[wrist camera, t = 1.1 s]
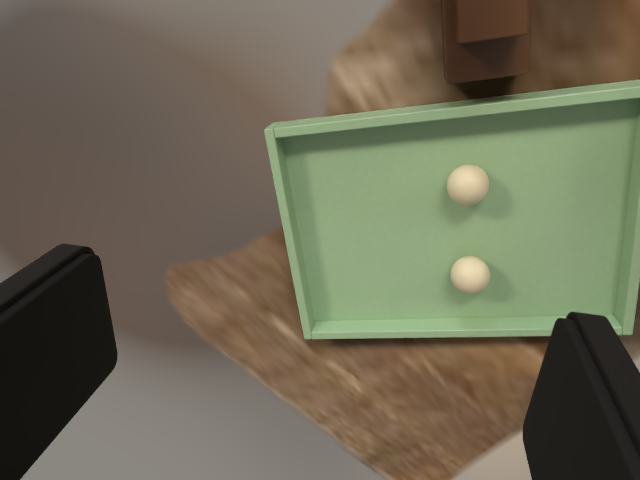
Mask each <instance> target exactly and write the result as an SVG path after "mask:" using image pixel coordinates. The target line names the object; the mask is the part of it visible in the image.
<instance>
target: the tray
mask: <svg viewBox="0 0 640 480" xmlns="http://www.w3.org/2000/svg"><path fill="white" fill-rule="evenodd" d="M264 133H265V138H266V143H267V148H268V154H269V159H270V163H271V169H272V174H273V179H274V185H275V190H276V195H277V200H278V205H279V210H280V215H281V221H282V226H283V231H284V236H285V241H286V247H287V252H288V257H289V262H290V267H291V272H292V278H293V283H294V288H295V293H296V298H297V303H298V309H299V314H300V319H301V324H302V329H303V334H304V339H366V338H443V337H520V336H551V333H552V330H553V327H554V324H555V321H556V320H557V319H558V318H566V317H567V315H568V314H569V313H570V312H579V313H587V314H594V315H602V316H605V317H606V318H607V319H608V320H609V322H610V323H611V325H612V327H613V329H614V330H615V332H616V334H617V335H632V334H633V327H634V319H635V312H636V304H637V297H638V289H639V282H640V79H639V80H631V81H622V82H614V83H606V84H597V85H589V86H580V87H572V88H563V89H555V90H546V91H538V92H530V93H521V94H513V95H504V96H496V97H487V98H479V99H470V100H462V101H453V102H445V103H437V104H428V105H420V106H411V107H403V108H394V109H386V110H377V111H369V112H360V113H352V114H344V115H335V116H327V117H318V118H310V119H301V120H293V121H285V122H276V123H272V124H271V125H270V126H268V127H267V128H266V129H265V130H264ZM467 164H470V165H475V166H478V167H480V168H481V169H483V170H484V171H485V173H486V174H487V176H488V179H489V190H488V193H487V195H486V196H485V198H484V199H483V200H482V201H480V202H479V203H477V204H474V205H470V206H465V205H460V204H458V203H456V202H455V201H453V200H452V199H451V198H450V196H449V194H448V192H447V180H448V177H449V175H450V174H451V172H452V171H453V170H454V169H456V168H457V167H459V166H462V165H467ZM466 256H474V257H477V258H480V259H481V260H483V261H484V262H485V263H486V265H487V266H488V268H489V271H490V280H489V283H488V285H487V286H486V287H485V288H484V289H483V290H482V291H480V292H478V293H475V294H466V293H463V292H461V291H459V290H458V289H457V288H456V287H455V286H454V285H453V283H452V281H451V269H452V266H453V265H454V263H455V262H456V261H457V260H459V259H460V258H462V257H466Z"/></svg>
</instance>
